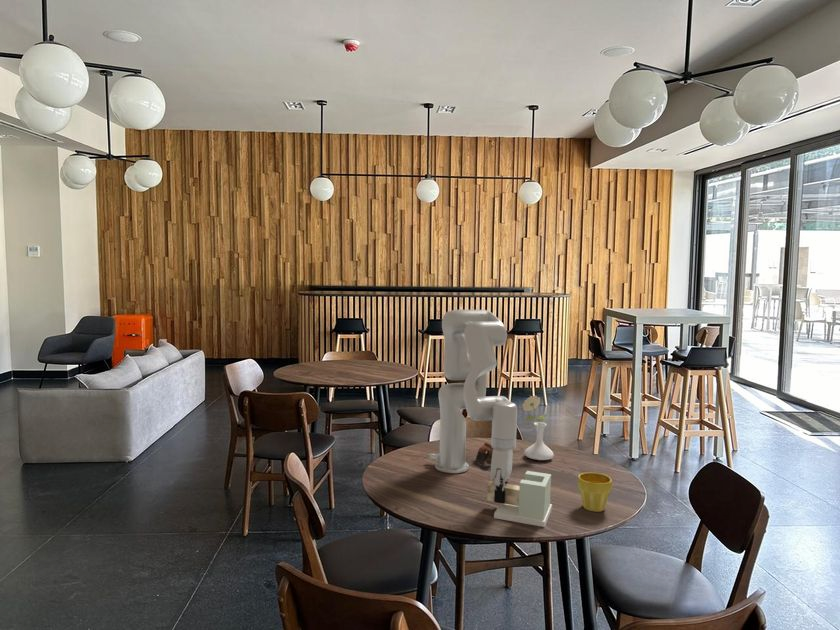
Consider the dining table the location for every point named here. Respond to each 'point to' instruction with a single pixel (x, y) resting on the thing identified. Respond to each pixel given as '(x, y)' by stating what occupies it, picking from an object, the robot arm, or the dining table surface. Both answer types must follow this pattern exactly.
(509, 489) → the rail
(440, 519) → the dining table surface
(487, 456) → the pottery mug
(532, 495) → the slotted block on base
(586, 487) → the plant pot
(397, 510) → the dining table surface
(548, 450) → the flower in vase
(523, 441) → the dining table surface
